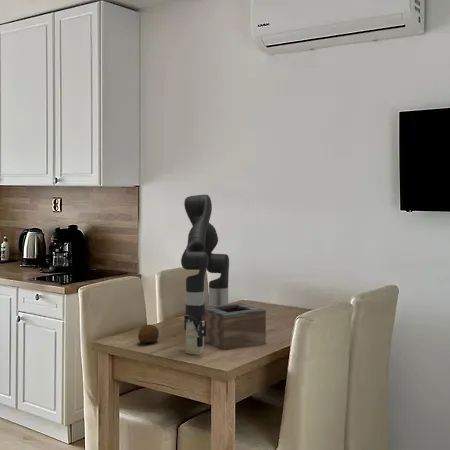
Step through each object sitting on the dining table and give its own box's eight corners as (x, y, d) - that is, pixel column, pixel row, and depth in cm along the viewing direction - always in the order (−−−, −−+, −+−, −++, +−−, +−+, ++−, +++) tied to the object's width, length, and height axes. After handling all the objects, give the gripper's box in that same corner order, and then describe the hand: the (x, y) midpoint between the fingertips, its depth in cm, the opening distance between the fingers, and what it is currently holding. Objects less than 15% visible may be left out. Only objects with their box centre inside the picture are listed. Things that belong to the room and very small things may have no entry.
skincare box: (185, 353, 244) (185, 322, 243) (190, 350, 248) (190, 320, 247) (199, 355, 241) (199, 323, 240) (204, 352, 245) (204, 321, 245)
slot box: (200, 339, 266) (200, 306, 265) (239, 334, 276) (240, 302, 275) (224, 349, 249) (224, 315, 248) (265, 343, 259) (265, 310, 258)
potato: (162, 339, 266) (162, 321, 265) (153, 347, 254) (153, 328, 253) (144, 338, 267) (143, 321, 267) (134, 346, 255) (134, 327, 255)
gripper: (178, 300, 248) (178, 341, 249) (195, 306, 235) (195, 349, 236) (194, 299, 251) (194, 339, 252) (212, 304, 239) (212, 347, 240)
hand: (195, 344), depth 244 cm, fingers closed on skincare box, 7 cm apart
